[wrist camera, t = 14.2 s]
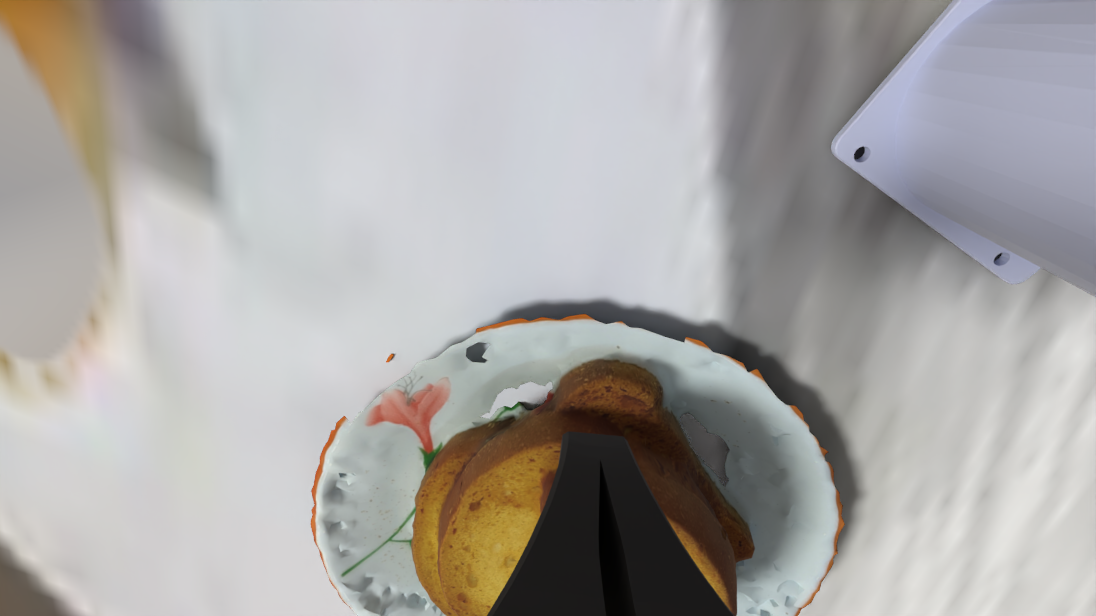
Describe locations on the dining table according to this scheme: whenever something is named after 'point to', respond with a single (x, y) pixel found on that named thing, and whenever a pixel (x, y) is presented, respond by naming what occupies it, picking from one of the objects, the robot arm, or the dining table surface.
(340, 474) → the food on plate
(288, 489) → the dining table surface
